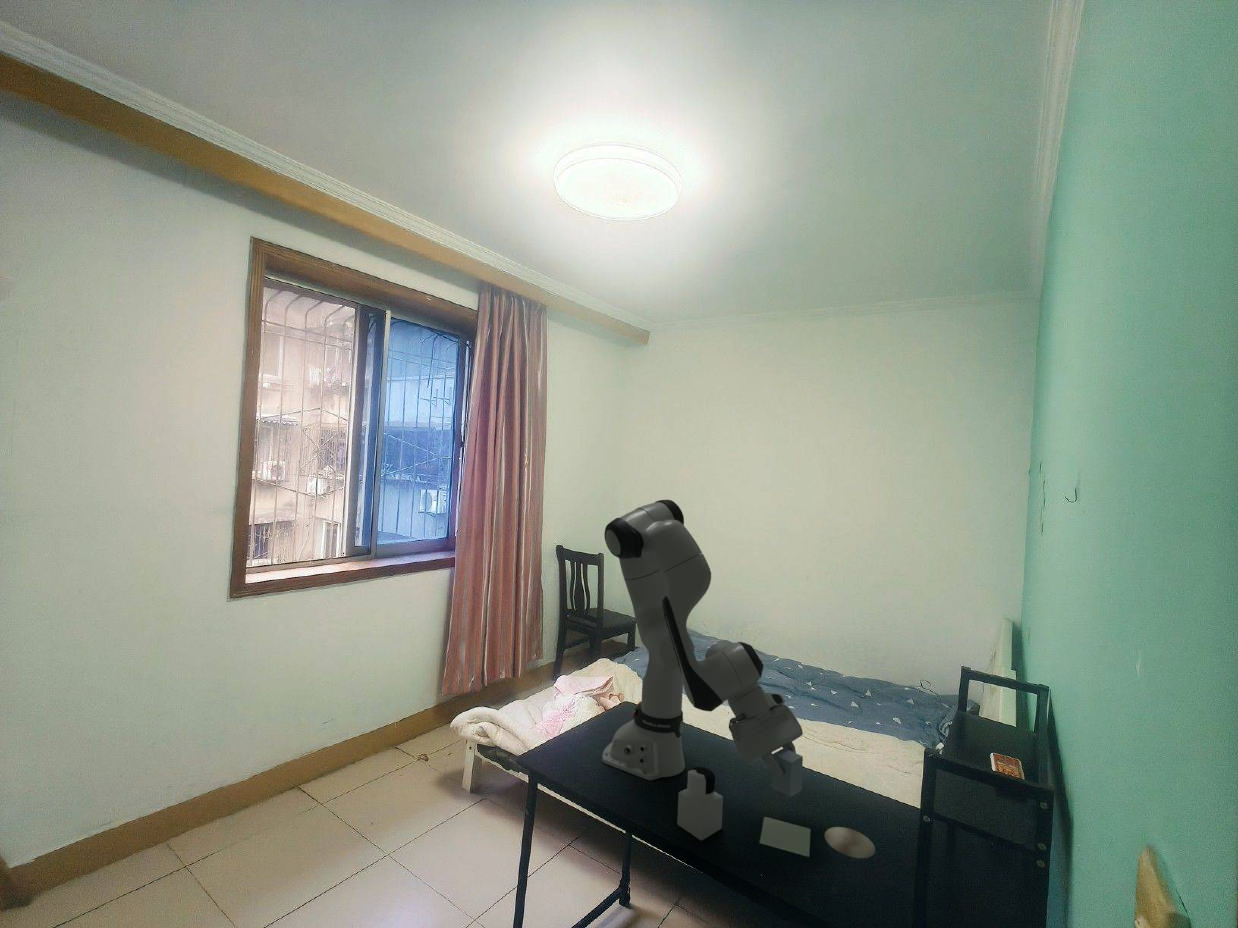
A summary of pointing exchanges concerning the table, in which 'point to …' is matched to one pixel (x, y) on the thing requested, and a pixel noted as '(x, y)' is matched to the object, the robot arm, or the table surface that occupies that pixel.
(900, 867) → the table surface
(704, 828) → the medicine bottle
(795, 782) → the grey block
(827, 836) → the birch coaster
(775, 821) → the sage mat
